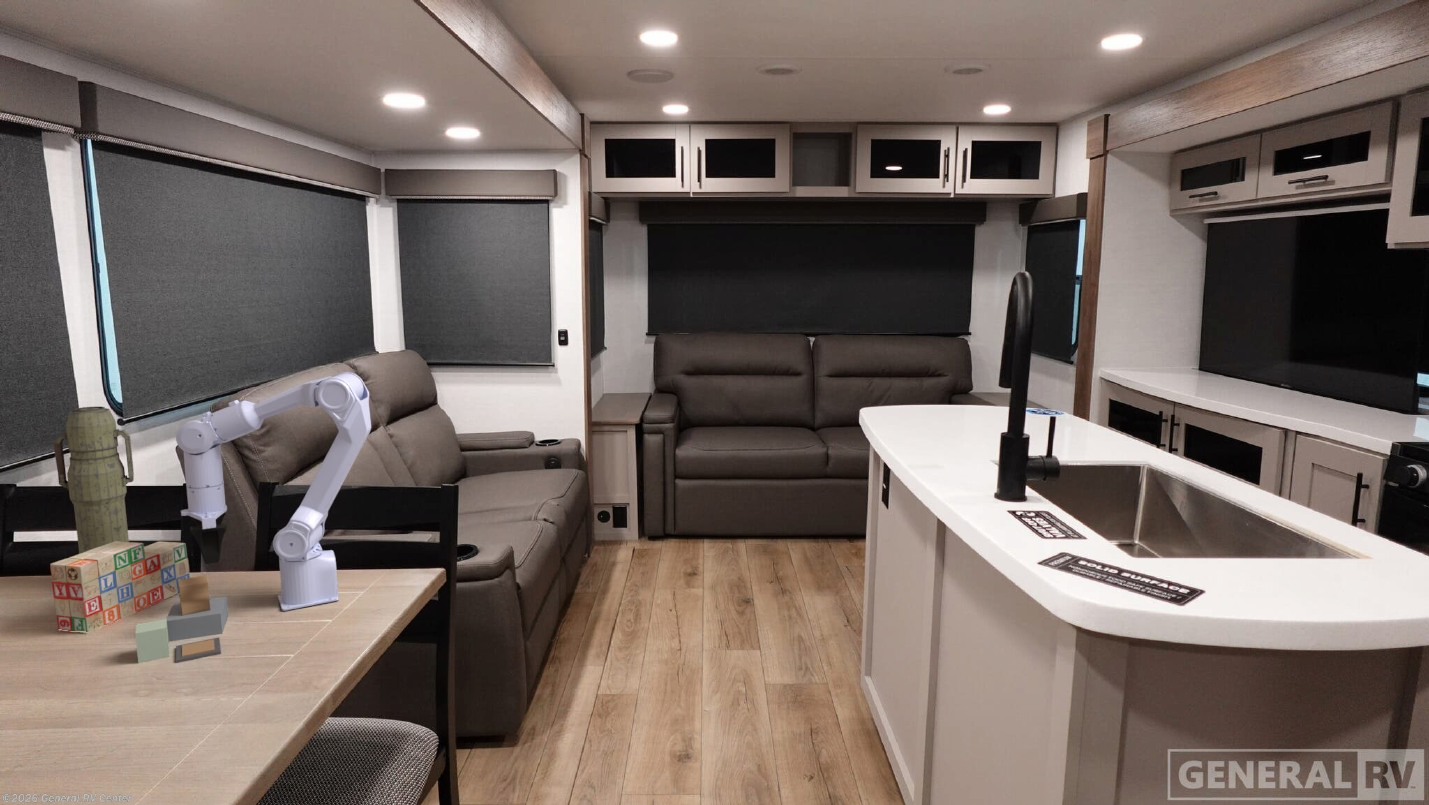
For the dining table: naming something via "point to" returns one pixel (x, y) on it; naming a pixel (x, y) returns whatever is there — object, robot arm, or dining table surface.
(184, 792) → the dining table surface
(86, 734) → the dining table surface
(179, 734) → the dining table surface
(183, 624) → the slate base block
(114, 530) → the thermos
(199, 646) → the card
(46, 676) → the dining table surface
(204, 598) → the walnut block
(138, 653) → the sage green block
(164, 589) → the stack of blocks
